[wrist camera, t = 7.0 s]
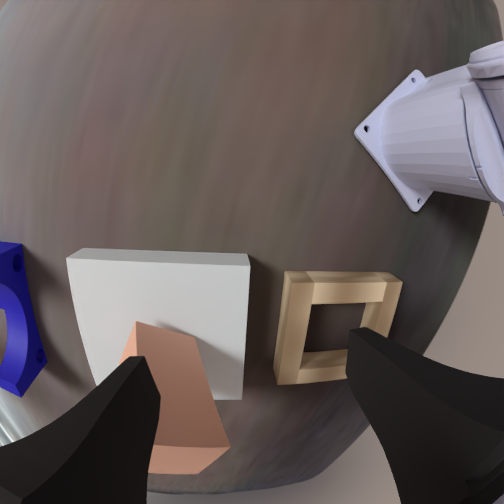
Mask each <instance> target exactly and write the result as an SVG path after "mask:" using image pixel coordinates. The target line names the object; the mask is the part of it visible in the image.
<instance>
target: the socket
mask: <svg viewBox="0 0 504 504" xmlns="http://www.w3.org/2000/svg"><path fill="white" fill-rule="evenodd" d="M402 283H403V282H402V281H400V280H399V279H398V278H396V277H395V276H393V275H392V274H390V273H389V272H324V271H285V273H284V283H283V292H282V300H281V309H280V317H279V325H278V333H277V341H276V349H275V356H274V364H273V370H274V374H275V378H276V382H277V385H287V384H301V383H312V382H322V381H331V380H339V379H346V378H347V376H346V374H345V370H346V362H347V353H348V349H342V350H332V351H319V352H304V353H303V349H304V344H305V338H306V333H307V327H308V322H309V316H310V310H311V304H338V303H363V302H366V305H365V309H364V314H363V318H362V321H361V325H360V328H361V327H367V328H369V329H371V330H373V331H375V332H377V333H379V334H381V335H383V336H385V337H387V336H388V333H389V330H390V327H391V324H392V320H393V317H394V313H395V310H396V306H397V302H398V299H399V295H400V291H401V287H402Z"/></svg>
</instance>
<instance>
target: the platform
mask: <svg viewBox="0 0 504 504" xmlns="http://www.w3.org/2000/svg"><path fill="white" fill-rule="evenodd" d="M66 260H67V268H68V275H69V281H70V287H71V293H72V298H73V303H74V308H75V312H76V317H77V321H78V325H79V330H80V333H81V337H82V341H83V345H84V348H85V352H86V355H87V358H88V362H89V365H90V368H91V371H92V374H93V377H94V380H95V383H96V385H97V386H98V385H99V384H100V383H101V382H102V381H103V380H104V379H105V378H106V377H107V376H108V375H109V374H111V373H112V372H113V371H114V370H115V369H116V368H117V367H118V366H119V361H120V359H121V356H122V354H123V351H124V348H125V346H126V343H127V341H128V338H129V336H130V333H131V331H132V329H133V326H134V324H135V321H139V322H142V323H145V324H149V325H152V326H155V327H159V328H163V329H166V330H170V331H173V332H177V333H181V334H185V335H189V336H193V337H195V340H196V344H197V347H198V351H199V354H200V358H201V361H202V364H203V368H204V371H205V374H206V377H207V381H208V384H209V387H210V390H211V393H212V396H213V399H215V400H242V390H243V374H244V358H245V342H246V326H247V311H248V295H249V279H250V263H249V259H248V256H247V254H237V253H208V252H179V251H150V250H123V249H95V248H82V249H80V250H79V251H77V252H75V253H74V254H72V255H70V256H69V257H67V258H66Z"/></svg>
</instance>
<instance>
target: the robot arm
mask: <svg viewBox="0 0 504 504" xmlns="http://www.w3.org/2000/svg"><path fill="white" fill-rule="evenodd" d="M411 79H412V80H413V82H414V83H413V82H412V80H411ZM364 126H366V127H367V129H368V131H367V132H365V130H364ZM354 133H355V136H356V138H357V139H358V140H359V142H360V143H361V144H362V145H363V146H364V148H365V149H366V150H367V151H368V152H369V154H370V155H371V156H372V157H373V159H374V160H375V161H376V162H377V164H378V165H379V166H380V168H381V169H382V170H383V172H384V173H385V174H386V176H387V177H388V178H389V180H390V181H391V182H392V184H393V185H394V186H395V188H396V189H397V191H398V192H399V194H400V195H401V196H402V198H403V199H404V201H405V202H406V204H407V205H408V207H409V208H410V210H411V211H414V212H417V211H418V210H419V209H420V208H421V207H422V206H423V204H424V203H425V202H426V200H427V199H428V198H429V196H430V195H431V194H432V192H433V191H439V192H445V193H450V194H456V195H462V196H467V197H472V198H477V199H482V200H486V201H491V202H495V203H498V204H499V205H500V207H501V210H502V213H503V216H504V41H501V42H497V43H494V44H491V45H489V46H486V47H483V48H481V49H478V50H476V51H474V52H472V53H471V54H470V59H469V63H468V64H467V65H465V66H461V67H458V68H455V69H452V70H449V71H446V72H443V73H440V74H437V75H434V76H431V77H428V78H425V77H424V76H423V74H422V73H421V72H420V71H419V70H415V71H413V72H412V73H411V74H410V75H409V76H408V77H407V78H406V79H405V80H404V81H403V82H402V83H401V84H400V85H399V86H398V87H397V88H396V89H395V90H394V91H393V92H392V93H391V94H390V95H389V96H388V97H387V98H386V99H385V100H384V101H383V102H382V103H381V104H380V105H379V106H378V107H377V108H376V109H375V110H374V111H373V112H372V113H371V114H370V115H369V116H368V117H367V118H366V119H365V120H364V121H363V122H362V123H361V124H360V125H359V126H358V127H357V128H356V129H355V132H354ZM418 198H419V203H418V202H417V200H418ZM345 374H346V376H347V379H348V382H349V384H350V387H351V389H352V392H353V394H354V396H355V398H356V400H357V401H358V403H359V405H360V407H361V409H362V410H363V412H364V414H365V416H366V417H367V419H368V421H369V423H370V424H371V426H372V428H373V430H374V431H375V433H376V435H377V437H378V439H379V441H380V443H381V445H382V447H383V449H384V452H385V454H386V457H387V460H388V462H389V465H390V468H391V471H392V474H393V477H394V480H395V483H396V486H397V490H398V493H399V497H400V500H401V504H504V379H502V378H495V377H488V376H483V375H478V374H472V373H469V372H465V371H462V370H458V369H455V368H452V367H449V366H446V365H443V364H441V363H438V362H436V361H433V360H431V359H428V358H426V357H424V356H422V355H420V354H418V353H416V352H413V351H411V350H409V349H407V348H405V347H404V346H402V345H400V344H398V343H396V342H394V341H392V340H390V339H388V338H387V337H385V336H383V335H381V334H379V333H377V332H375V331H373V330H371V329H369V328H367V327H361V328H357V329H352V330H350V333H349V344H348V353H347V362H346V370H345ZM160 402H161V395H160V393H159V391H158V388H157V386H156V383H155V381H154V379H153V376H152V374H151V371H150V369H149V366H148V364H147V361H146V358H145V356H129V357H128V358H127V359H125V360H124V361H123V362H122V363H121V364H120V365H119V366H118V367H117V368H116V369H115V370H114V371H113V372H112V373H111V374H109V375H108V376H107V377H106V378H105V379H104V380H103V381H102V382H101V383H100V384H99V385H98V386H97V387H96V388H95V389H94V390H93V391H91V392H90V393H89V394H88V395H87V396H86V397H84V398H83V399H82V400H81V401H80V402H79V403H77V404H76V405H75V406H74V407H73V408H71V409H70V410H69V411H68V412H66V413H65V414H63V415H62V416H61V417H59V418H58V419H56V420H55V421H53V422H52V423H50V424H49V425H47V426H45V427H43V428H42V429H40V430H38V431H36V432H34V433H33V434H31V435H29V436H27V437H25V438H22V439H20V440H18V441H15V442H13V443H10V444H7V445H4V446H1V447H0V504H146V497H147V477H148V470H149V464H150V459H151V454H152V450H153V445H154V441H155V436H156V431H157V427H158V422H159V414H160Z"/></svg>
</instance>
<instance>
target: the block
mask: <svg viewBox="0 0 504 504" xmlns="http://www.w3.org/2000/svg"><path fill="white" fill-rule="evenodd" d="M129 356H145V358H146V361H147V364H148V366H149V369H150V371H151V374H152V376H153V379H154V381H155V383H156V386H157V388H158V391H159V393H160V395H161V402H160V414H159V422H158V427H157V431H156V436H155V441H154V445H153V450H152V454H151V459H150V464H149V470H148V473H161V474H198V473H199V472H201V471H202V470H203V469H204V468H206V467H207V466H208V465H210V464H211V463H212V462H213V461H215V460H216V459H217V458H218V457H220V456H221V455H222V454H223V453H224V452H226V451H227V450H228V449H229V448H230V444H229V441H228V439H227V436H226V433H225V431H224V428H223V425H222V422H221V420H220V417H219V414H218V411H217V408H216V405H215V402H214V399H213V396H212V393H211V390H210V387H209V384H208V381H207V377H206V374H205V371H204V368H203V364H202V361H201V358H200V354H199V351H198V347H197V344H196V340H195V337H193V336H189V335H185V334H181V333H177V332H173V331H170V330H166V329H163V328H159V327H155V326H152V325H149V324H145V323H142V322H139V321H135V324H134V326H133V329H132V331H131V333H130V336H129V338H128V341H127V343H126V346H125V348H124V351H123V354H122V356H121V359H120V361H119V365H120V364H121V363H122V362H123V361H124V360H125V359H127V358H128V357H129Z"/></svg>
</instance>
